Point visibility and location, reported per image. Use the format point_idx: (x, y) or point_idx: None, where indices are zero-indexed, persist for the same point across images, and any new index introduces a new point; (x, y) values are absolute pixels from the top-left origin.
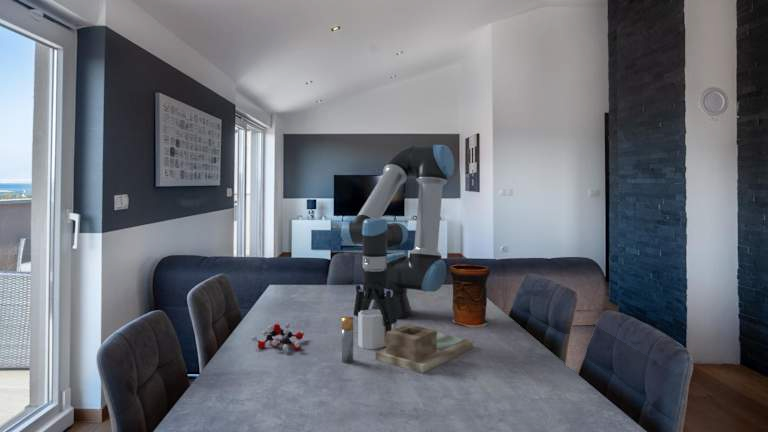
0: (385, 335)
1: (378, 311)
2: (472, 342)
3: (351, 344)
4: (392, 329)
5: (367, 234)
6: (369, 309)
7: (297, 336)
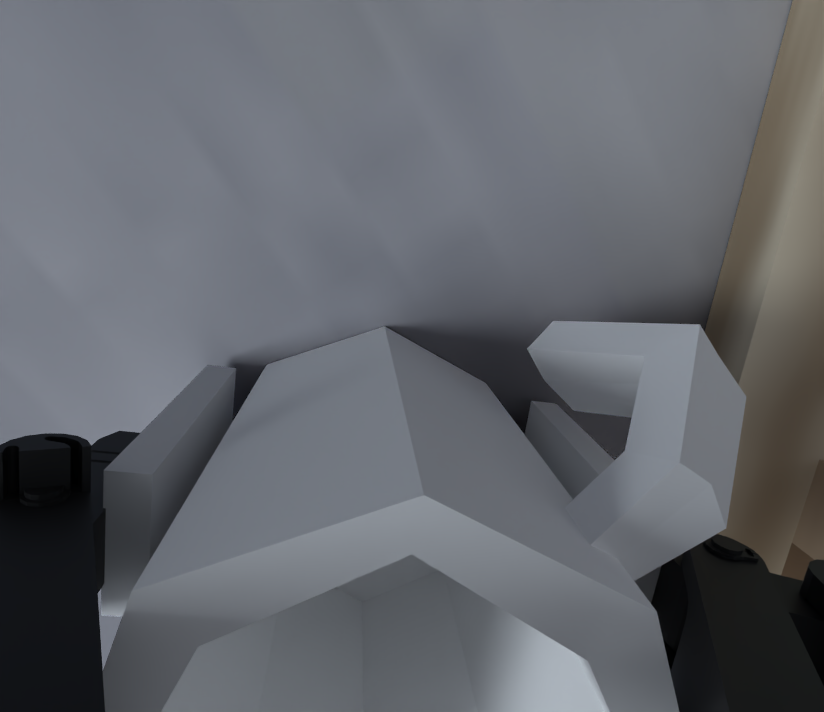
0: None
1: (405, 536)
2: None
3: None
4: (631, 404)
5: None
6: (150, 617)
7: None
